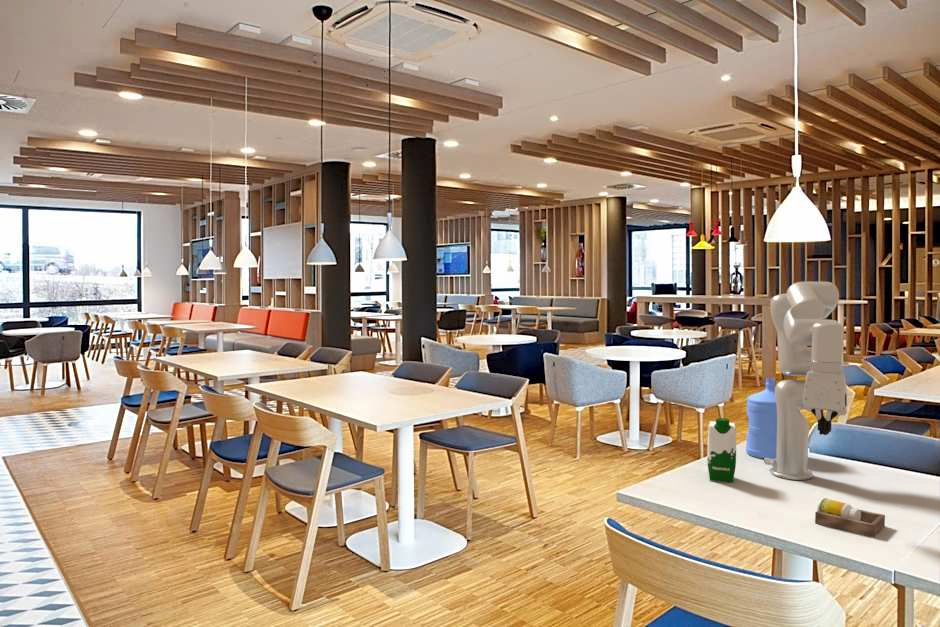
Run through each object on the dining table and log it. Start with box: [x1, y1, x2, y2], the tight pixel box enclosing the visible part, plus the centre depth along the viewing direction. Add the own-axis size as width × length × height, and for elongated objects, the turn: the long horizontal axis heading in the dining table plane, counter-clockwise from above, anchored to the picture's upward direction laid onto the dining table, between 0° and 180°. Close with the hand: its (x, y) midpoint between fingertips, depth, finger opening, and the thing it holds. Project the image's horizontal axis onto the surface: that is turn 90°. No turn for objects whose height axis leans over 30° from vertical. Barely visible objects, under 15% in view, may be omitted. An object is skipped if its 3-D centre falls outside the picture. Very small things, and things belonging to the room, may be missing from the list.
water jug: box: [745, 377, 777, 459], centre depth 255 cm, size 16×16×28 cm
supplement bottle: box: [816, 497, 861, 521], centre depth 188 cm, size 5×5×10 cm
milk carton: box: [706, 417, 737, 484], centre depth 226 cm, size 9×9×20 cm
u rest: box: [814, 509, 886, 538], centre depth 186 cm, size 14×10×3 cm
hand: (824, 433), depth 191 cm, fingers closed
